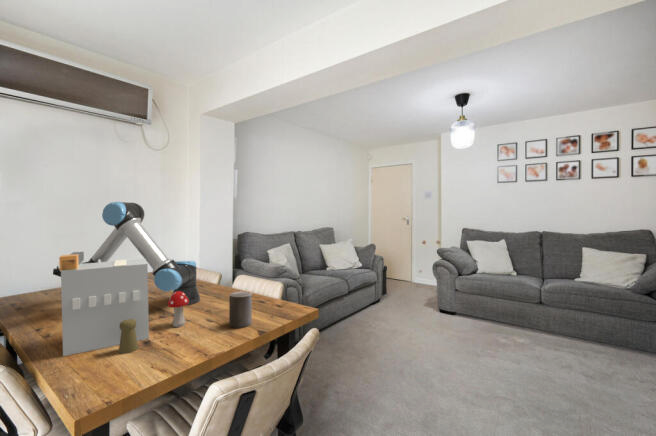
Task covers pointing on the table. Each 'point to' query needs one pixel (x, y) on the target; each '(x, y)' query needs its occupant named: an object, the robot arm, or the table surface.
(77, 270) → the breaker panel
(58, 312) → the table surface
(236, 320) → the pillar candle
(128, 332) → the cork
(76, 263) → the handle
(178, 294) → the decorative mushroom
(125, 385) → the table surface
